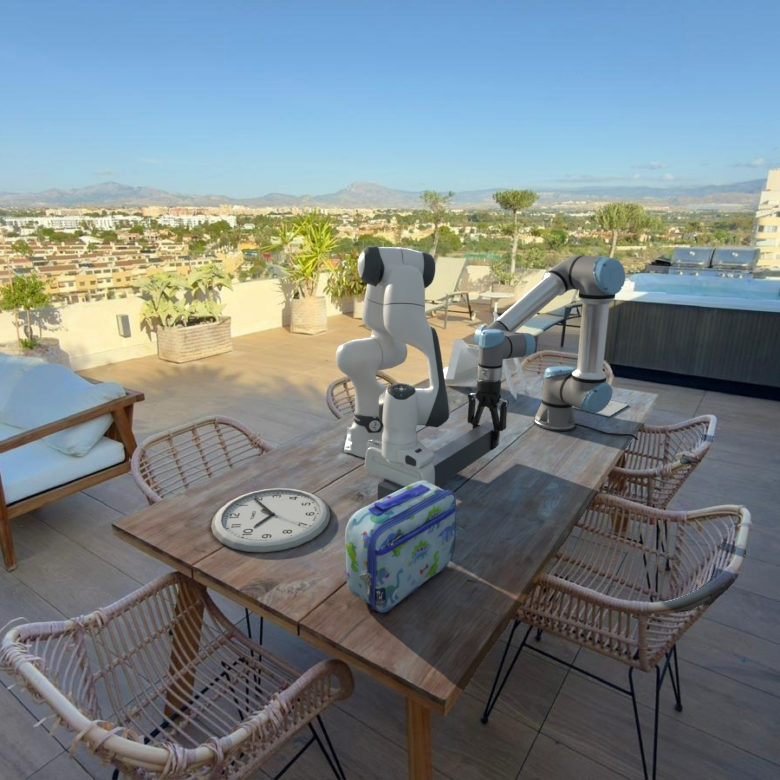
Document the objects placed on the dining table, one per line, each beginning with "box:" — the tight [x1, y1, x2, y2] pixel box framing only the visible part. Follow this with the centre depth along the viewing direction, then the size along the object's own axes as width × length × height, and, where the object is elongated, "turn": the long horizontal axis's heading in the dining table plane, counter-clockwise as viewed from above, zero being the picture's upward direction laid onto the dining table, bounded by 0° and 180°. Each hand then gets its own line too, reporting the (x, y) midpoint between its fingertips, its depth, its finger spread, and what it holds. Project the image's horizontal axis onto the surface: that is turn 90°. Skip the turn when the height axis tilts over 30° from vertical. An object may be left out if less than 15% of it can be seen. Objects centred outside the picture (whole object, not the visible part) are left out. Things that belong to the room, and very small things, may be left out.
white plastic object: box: [443, 310, 531, 400], centre depth 245 cm, size 37×45×31 cm
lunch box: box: [344, 481, 457, 614], centre depth 109 cm, size 26×11×21 cm, turn 135°
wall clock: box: [210, 487, 331, 553], centre depth 136 cm, size 30×2×30 cm
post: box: [377, 421, 500, 501], centre depth 154 cm, size 58×5×7 cm, turn 142°
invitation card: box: [573, 400, 629, 418], centre depth 226 cm, size 21×1×15 cm
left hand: (397, 496), depth 136 cm, fingers closed on post, 5 cm apart
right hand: (485, 446), depth 173 cm, fingers closed on post, 5 cm apart
